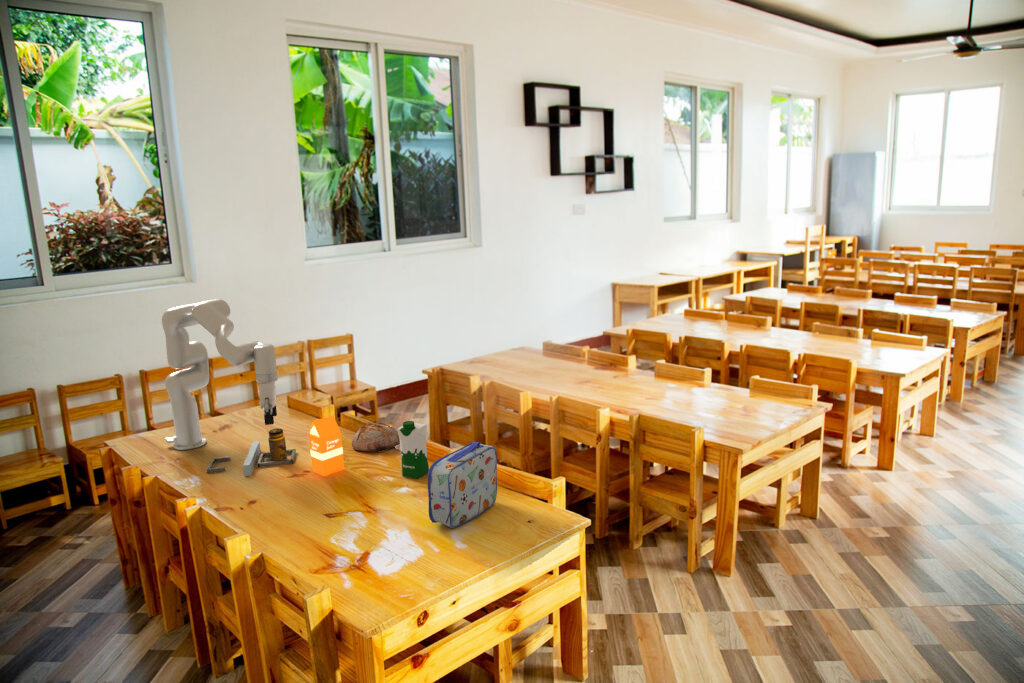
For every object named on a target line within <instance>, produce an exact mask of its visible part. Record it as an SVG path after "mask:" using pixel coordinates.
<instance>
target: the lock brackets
mask: <svg viewBox="0 0 1024 683" xmlns="http://www.w3.org/2000/svg"><path fill="white" fill-rule="evenodd" d="M286 451H287V455H291V456H290V458H289V459H288V460H279V461H271V462H265V461H264V460H263V459H265V458H267V457H268V458H270V457H271V456H270V451H265V452H260V454H259V456H258V459H257V462H256V467H257V468H267V467H275V466H285V465H291V464H292V465H293V464H294V462H295V458H296V454H297V449H296V448H293V449H286ZM210 460H211V461H210V462H209V463H208V466H207V467H206V470H205V472H206V474H207V473H208V474H215V473H214V472H216V473H224V472H223V471H225V472H226V466H221V467H219V466H218V467H214V466H215V464H216V463H223V462H225V463H226V462H231V456H230V455H229V456H221V457H213V458H211V459H210ZM215 462H216V463H215Z"/></svg>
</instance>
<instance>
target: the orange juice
mask: <svg viewBox="0 0 1024 683" xmlns="http://www.w3.org/2000/svg"><path fill="white" fill-rule="evenodd" d="M341 432H342V431H341V430H340V428H339V426H338V423H337V420H336V418H335V416H334V415H329V416H326V417H323V418H319V419H316V420H313V421H312V423H311V426H310V429H309V432H308V439H309V448H310V449H309V450H310V451H309V453H310V459H311V466H312V467H311V468H312V472H314V473H315V474H317V475H320V476H322V477H327V476H329V475H331V474H335V473H338V472H340V471H343V470H344V469H345V459H344V450H343V442H342V441H343V440H342V433H341Z"/></svg>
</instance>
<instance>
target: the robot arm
mask: <svg viewBox="0 0 1024 683" xmlns="http://www.w3.org/2000/svg"><path fill="white" fill-rule="evenodd" d="M230 315H231V308H230V306H229V304H228V302H227V301H226V300H224V299H222V298H214V299H209V300H203V301H199V302H196V303H190V304H184V305H179V306H176V307H175V306H174V307H172V308H171V307H170V308H168V309H166V310H165V311H164V312H163V314H162V317H161V325H162V329H163V331H164V335H165V346H166V358H167V363H168V366H169V367H170V368H171V369H174V370H177V371H175V372H171V373H170V374H168V375H167V377H165V379H164V385H165V389H166V392H167V395H168V398H169V402H170V406H171V413H172V419H173V425H174V432H175V435H174V436H173V437H171V436H169V437H165V438H164V440H165V443H167V444H171V443H173V445H172V448H173V449H175V450H177V451H185V450H193V449H197V448H200V447H202V446H204V445H206V443H207V438H205V437H202V431H201V423H200V418H199V417H200V416H199V409H198V403H197V401H196V399H195V398H194V397H193V395H192V394H191V392H194V391H197V390H200V389H203V388H205V387H207V385H208V384H209V382H210V368H209V353H208V350H207V348H206V346H205V345H204V344H203V343H202V342H201V341H199V340H193V341H190V335H189V332H188V330H187V329H186V328H188V327H191V326H196V325H200V326H202V327H203V328H204V329H205V330H206V331H207V332H208V333H210V334H211V335H212V336H213V337H214V339H215V340H214V343H215V347H216V350H217V352H218V354H219V355H220V356H221V357H222V358H223V359H224V360H226V361H227V362H228V363H229V364H231V365H233V366H235V367H236V366H237V367H238V366H243V365H247V364H251V363H254V370H255V377H256V378H255V379H256V383H258V384H259V386H258V387H259V388H258V389H259V392H258V394H259V405H260V409H262V410H263V409H264V410H263V418H264V420H263V421H264V425H265V426H269V425H274V424H275V421H274V417H277V416H278V413H277V405H276V403H277V390H276V382H277V381H278V380H279V379H278V372H277V371H278V369H277V361H276V351H275V350H276V348H275V346H274V345H273V344H272V343H271V344H270V343H263V342H261V341H257V340H253V341H248V342H244V343H241V344H236V345H234V344H233V343H232V342H231V341H230V340H228V337H229V336H230V335H231V334H232V332H233V331H234V328H235V327H234V326H235V325H234V322H233V321H232V320H231V319H230V318H229V316H230ZM179 369H181V370H179Z"/></svg>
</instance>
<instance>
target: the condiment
mask: <svg viewBox="0 0 1024 683" xmlns="http://www.w3.org/2000/svg"><path fill="white" fill-rule="evenodd" d="M268 448H269V452H270V456H269V457H268V458H267V457H266V458H263V462H271V461H279V460H288V459H290V458H289V457H288V454H287V451H286V450H287V445H286V436H285V435H284V430H283V429H282V428H272V429H270V430H269V431H268Z"/></svg>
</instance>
